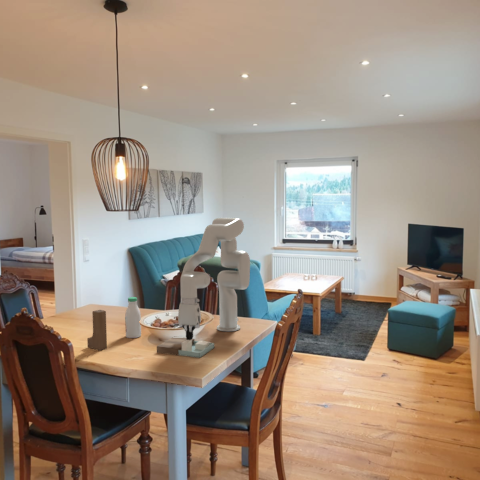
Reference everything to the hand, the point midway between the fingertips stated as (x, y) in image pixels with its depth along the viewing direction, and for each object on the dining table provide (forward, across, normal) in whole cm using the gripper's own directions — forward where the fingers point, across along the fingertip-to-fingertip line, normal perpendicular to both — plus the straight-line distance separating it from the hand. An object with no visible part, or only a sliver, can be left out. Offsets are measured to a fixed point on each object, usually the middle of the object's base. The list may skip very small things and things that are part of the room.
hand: (189, 339), depth 215 cm
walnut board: (+4, +5, +4) cm, 7 cm away
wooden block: (+4, +40, +16) cm, 44 cm away
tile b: (+1, -2, +8) cm, 9 cm away
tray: (+4, -6, +4) cm, 8 cm away
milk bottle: (+4, +36, -6) cm, 36 cm away
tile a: (+1, -7, 0) cm, 7 cm away
